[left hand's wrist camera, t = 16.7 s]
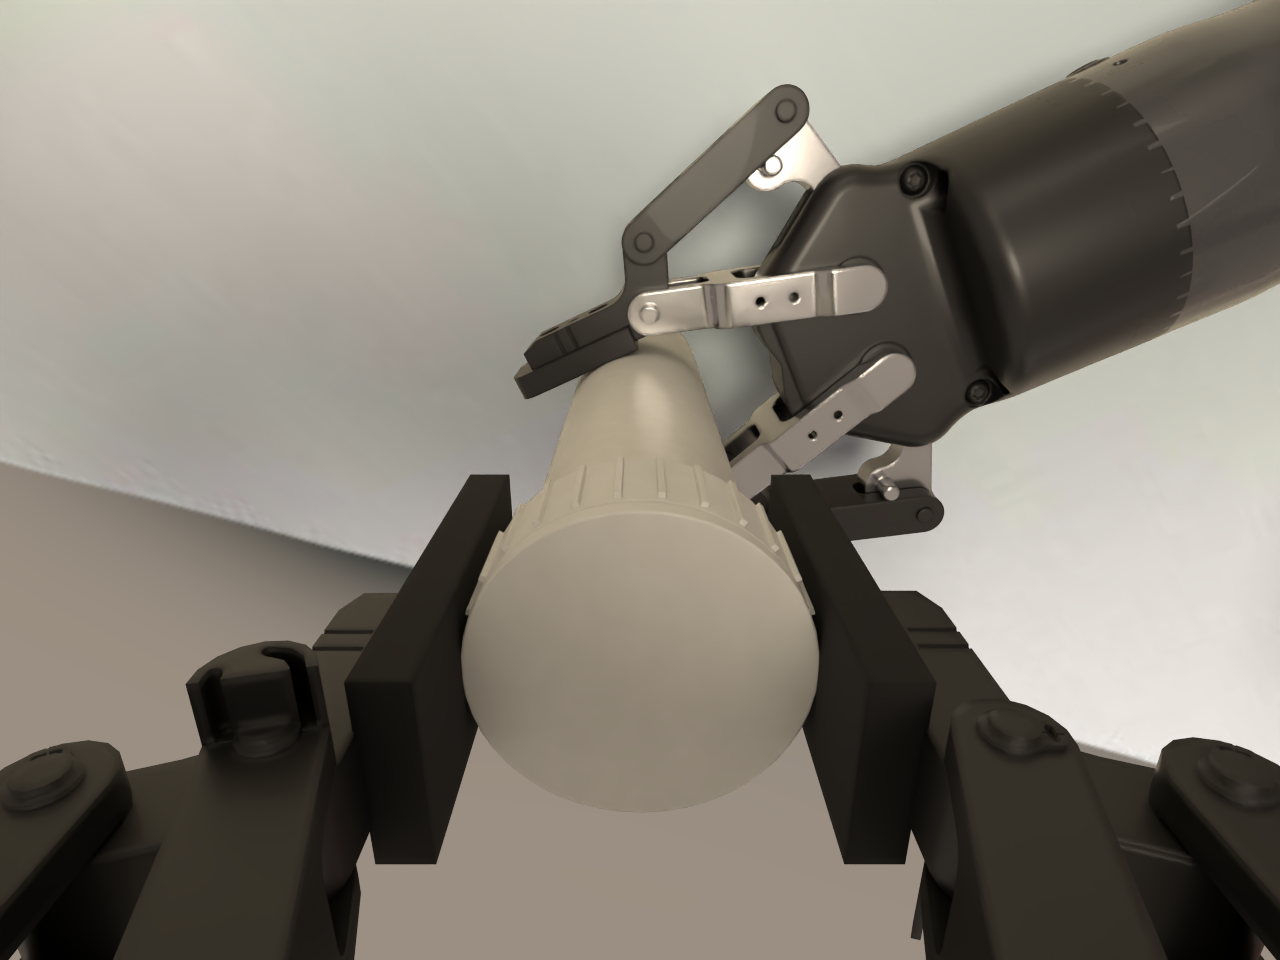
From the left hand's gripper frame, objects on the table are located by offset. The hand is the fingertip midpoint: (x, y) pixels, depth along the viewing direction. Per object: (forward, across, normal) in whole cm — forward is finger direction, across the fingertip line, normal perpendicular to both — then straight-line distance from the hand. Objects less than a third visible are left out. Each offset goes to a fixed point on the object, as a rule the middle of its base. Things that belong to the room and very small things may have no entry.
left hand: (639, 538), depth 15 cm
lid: (-4, 0, 0) cm, 4 cm away
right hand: (+9, -2, -1) cm, 9 cm away
